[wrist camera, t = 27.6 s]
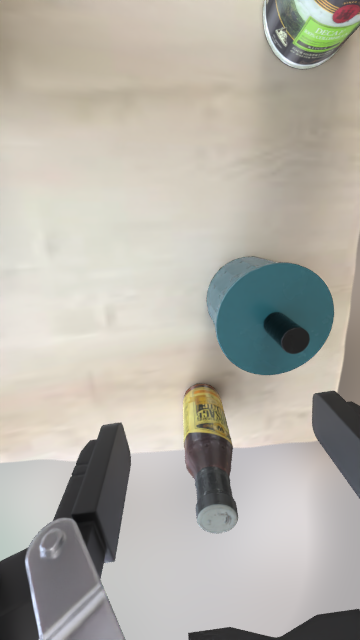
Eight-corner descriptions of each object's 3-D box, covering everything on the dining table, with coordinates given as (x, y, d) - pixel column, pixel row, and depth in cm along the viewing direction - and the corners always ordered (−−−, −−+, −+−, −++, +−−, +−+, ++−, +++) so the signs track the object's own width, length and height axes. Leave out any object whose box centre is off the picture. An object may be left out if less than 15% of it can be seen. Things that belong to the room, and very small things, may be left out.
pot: (202, 263, 36) (214, 275, 26) (285, 250, 36) (328, 257, 26) (211, 339, 40) (225, 375, 30) (286, 327, 40) (324, 359, 30)
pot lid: (208, 271, 27) (218, 282, 21) (330, 252, 27) (373, 258, 21) (220, 377, 31) (231, 409, 25) (325, 361, 31) (360, 390, 25)
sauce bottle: (226, 390, 43) (269, 512, 25) (206, 417, 45) (232, 551, 26) (193, 374, 42) (211, 489, 23) (173, 402, 44) (176, 531, 25)
